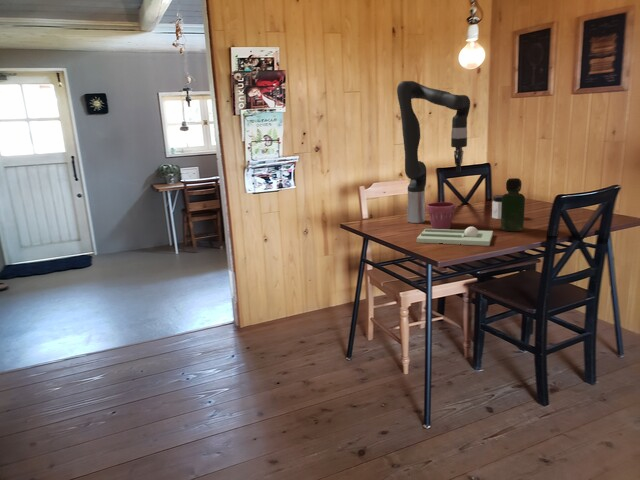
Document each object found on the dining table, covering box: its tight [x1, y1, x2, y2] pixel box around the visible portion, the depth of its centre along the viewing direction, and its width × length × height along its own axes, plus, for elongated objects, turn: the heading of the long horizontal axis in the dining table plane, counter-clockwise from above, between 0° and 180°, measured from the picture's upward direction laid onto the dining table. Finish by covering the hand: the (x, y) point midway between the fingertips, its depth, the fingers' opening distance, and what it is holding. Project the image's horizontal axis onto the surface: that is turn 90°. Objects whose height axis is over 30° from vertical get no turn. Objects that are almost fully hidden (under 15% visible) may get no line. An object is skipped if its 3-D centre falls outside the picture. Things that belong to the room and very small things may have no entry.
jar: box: [491, 194, 504, 220], centre depth 259 cm, size 9×8×12 cm
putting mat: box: [416, 228, 494, 247], centre depth 222 cm, size 32×20×3 cm, turn 66°
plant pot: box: [426, 201, 456, 230], centre depth 242 cm, size 14×14×13 cm
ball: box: [464, 226, 479, 238], centre depth 219 cm, size 6×6×6 cm
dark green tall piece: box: [500, 177, 526, 232], centre depth 230 cm, size 10×10×25 cm
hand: (458, 172), depth 237 cm, fingers closed
